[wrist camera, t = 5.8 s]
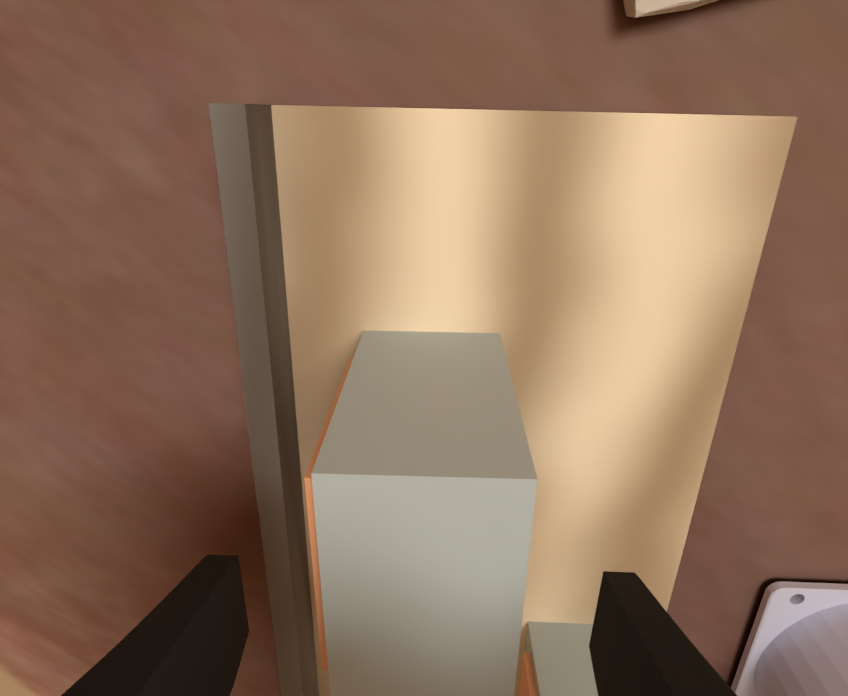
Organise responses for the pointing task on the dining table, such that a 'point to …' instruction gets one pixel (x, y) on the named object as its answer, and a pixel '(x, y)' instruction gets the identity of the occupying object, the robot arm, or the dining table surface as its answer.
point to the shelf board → (499, 310)
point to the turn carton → (421, 519)
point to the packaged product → (660, 6)
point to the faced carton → (557, 660)
